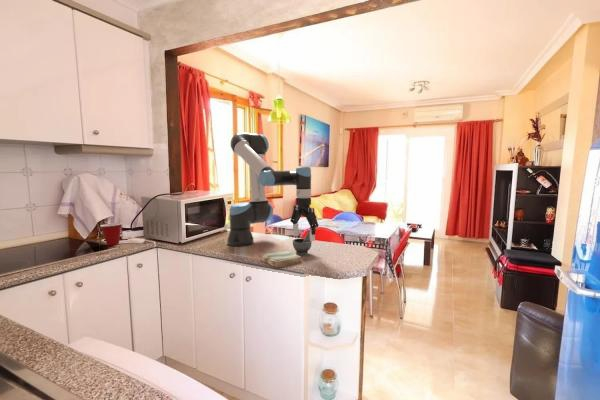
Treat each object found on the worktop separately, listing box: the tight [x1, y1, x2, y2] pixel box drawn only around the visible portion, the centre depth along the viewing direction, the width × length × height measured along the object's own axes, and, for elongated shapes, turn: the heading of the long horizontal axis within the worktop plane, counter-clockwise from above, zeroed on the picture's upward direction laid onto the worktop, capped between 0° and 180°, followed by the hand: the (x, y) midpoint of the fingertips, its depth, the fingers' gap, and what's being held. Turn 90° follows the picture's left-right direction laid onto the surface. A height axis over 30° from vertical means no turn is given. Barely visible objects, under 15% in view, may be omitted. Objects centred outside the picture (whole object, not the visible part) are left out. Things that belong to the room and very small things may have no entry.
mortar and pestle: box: [292, 229, 313, 256], centre depth 151 cm, size 11×9×12 cm
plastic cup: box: [99, 222, 123, 247], centre depth 166 cm, size 11×11×12 cm
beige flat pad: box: [259, 249, 302, 269], centre depth 140 cm, size 14×14×3 cm
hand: (303, 238), depth 151 cm, fingers open, 13 cm apart
